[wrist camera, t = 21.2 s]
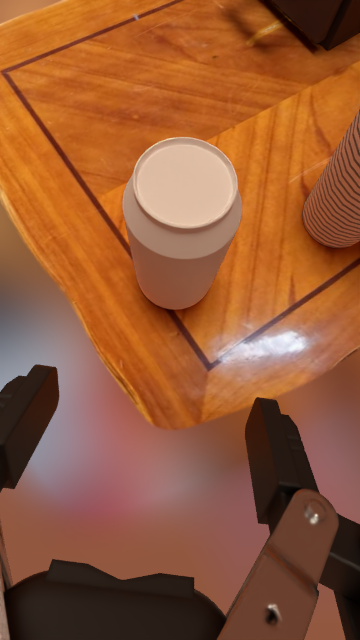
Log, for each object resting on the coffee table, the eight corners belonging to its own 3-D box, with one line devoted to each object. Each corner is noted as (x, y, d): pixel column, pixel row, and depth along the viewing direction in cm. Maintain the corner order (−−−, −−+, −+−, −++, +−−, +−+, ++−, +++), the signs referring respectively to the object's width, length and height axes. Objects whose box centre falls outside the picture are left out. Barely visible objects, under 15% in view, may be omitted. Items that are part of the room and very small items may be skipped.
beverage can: (155, 325, 25) (152, 262, 13) (125, 259, 26) (96, 149, 14) (223, 294, 26) (276, 211, 14) (191, 233, 27) (214, 109, 15)
